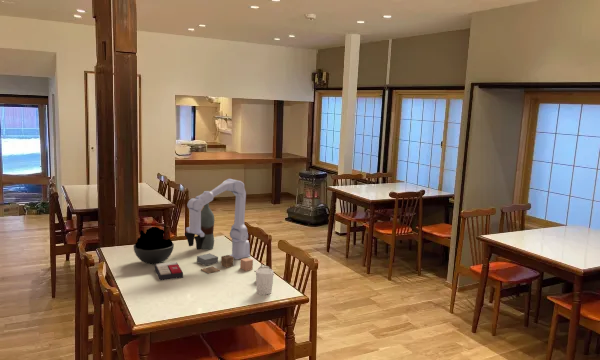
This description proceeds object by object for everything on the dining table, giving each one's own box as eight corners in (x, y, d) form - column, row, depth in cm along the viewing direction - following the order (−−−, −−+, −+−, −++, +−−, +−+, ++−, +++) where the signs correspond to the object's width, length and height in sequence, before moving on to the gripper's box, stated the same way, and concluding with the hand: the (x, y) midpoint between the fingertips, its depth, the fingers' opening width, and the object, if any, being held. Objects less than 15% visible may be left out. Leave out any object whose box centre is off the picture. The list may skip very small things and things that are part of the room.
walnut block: (228, 263, 251) (228, 254, 250) (233, 266, 248) (233, 256, 247) (221, 265, 248) (221, 256, 247) (226, 267, 245) (226, 258, 244)
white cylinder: (266, 296, 209) (266, 275, 207) (251, 292, 213) (252, 271, 211) (276, 291, 215) (276, 270, 214) (262, 287, 220) (262, 266, 218)
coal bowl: (172, 256, 260) (172, 223, 257) (175, 268, 241) (174, 232, 238) (134, 258, 253) (133, 224, 251) (133, 271, 235) (132, 234, 232)
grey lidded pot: (267, 287, 230) (280, 272, 229) (259, 286, 222) (272, 270, 221) (255, 275, 234) (268, 259, 233) (247, 274, 226) (260, 258, 225)
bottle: (195, 249, 275) (195, 198, 270) (201, 244, 284) (201, 195, 279) (211, 250, 273) (211, 199, 269) (216, 246, 282) (217, 196, 278)
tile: (212, 267, 245) (212, 266, 245) (220, 270, 240) (220, 269, 240) (200, 270, 240) (200, 269, 240) (208, 273, 235) (208, 272, 235)
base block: (209, 259, 258) (209, 253, 257) (218, 263, 252) (218, 256, 252) (196, 262, 252) (196, 256, 252) (205, 266, 247) (205, 259, 246)
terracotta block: (247, 266, 248) (247, 257, 247) (252, 269, 244) (252, 259, 244) (240, 268, 244) (240, 259, 244) (245, 271, 241) (245, 261, 241)
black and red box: (159, 274, 223) (154, 262, 236) (159, 282, 224) (154, 270, 237) (183, 271, 228) (176, 260, 241) (183, 279, 228) (176, 268, 242)
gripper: (180, 220, 244) (180, 245, 246) (195, 225, 233) (195, 252, 235) (192, 218, 249) (192, 243, 251) (208, 223, 238) (207, 249, 240)
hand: (194, 247), depth 243 cm, fingers open, 7 cm apart
